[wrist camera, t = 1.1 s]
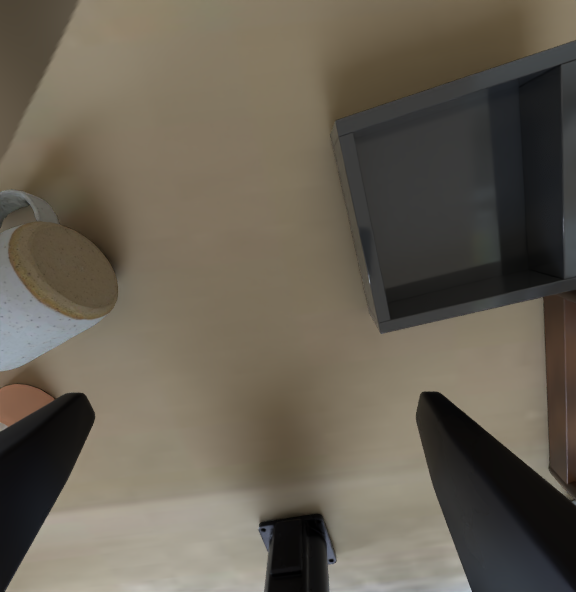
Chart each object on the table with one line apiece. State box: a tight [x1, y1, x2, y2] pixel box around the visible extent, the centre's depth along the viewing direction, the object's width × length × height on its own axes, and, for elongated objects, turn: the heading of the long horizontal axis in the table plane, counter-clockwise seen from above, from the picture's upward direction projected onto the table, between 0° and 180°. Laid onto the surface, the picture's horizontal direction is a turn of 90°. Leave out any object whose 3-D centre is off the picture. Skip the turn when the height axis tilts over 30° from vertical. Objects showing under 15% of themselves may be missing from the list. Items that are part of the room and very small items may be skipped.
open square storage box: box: [330, 40, 576, 334], centre depth 18 cm, size 13×12×4 cm
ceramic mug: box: [0, 189, 118, 371], centre depth 19 cm, size 11×8×8 cm
